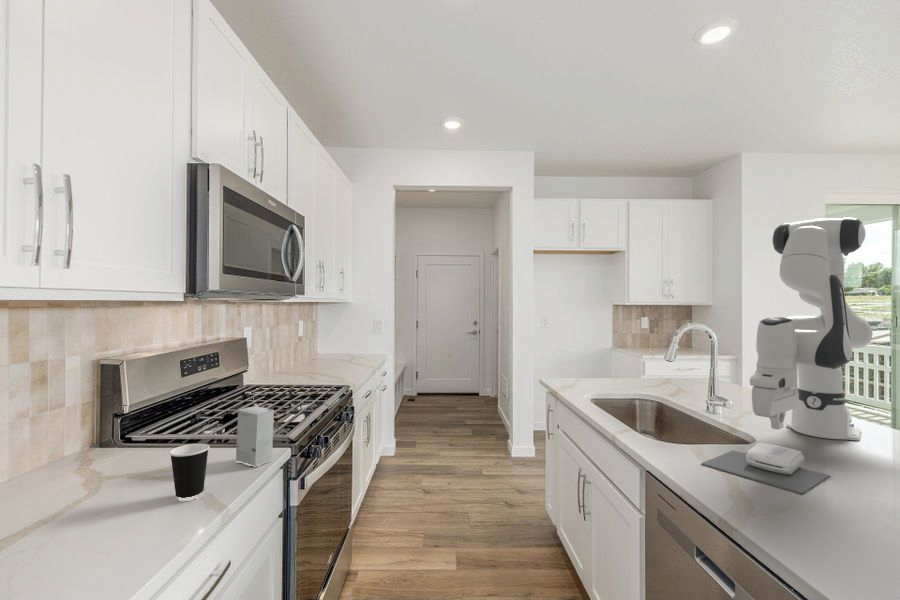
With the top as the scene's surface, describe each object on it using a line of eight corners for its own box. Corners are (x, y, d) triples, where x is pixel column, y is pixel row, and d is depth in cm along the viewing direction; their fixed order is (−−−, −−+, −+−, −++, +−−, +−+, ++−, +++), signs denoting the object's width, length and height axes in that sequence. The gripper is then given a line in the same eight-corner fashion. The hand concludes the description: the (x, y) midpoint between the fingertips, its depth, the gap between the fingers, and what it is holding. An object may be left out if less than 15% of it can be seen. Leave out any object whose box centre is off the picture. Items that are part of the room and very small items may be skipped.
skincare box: (235, 463, 118) (235, 409, 118) (254, 456, 124) (254, 405, 124) (256, 468, 114) (256, 413, 114) (274, 461, 120) (274, 408, 120)
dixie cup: (160, 502, 95) (160, 452, 95) (193, 487, 103) (193, 441, 103) (186, 507, 92) (186, 456, 93) (217, 492, 100) (217, 445, 100)
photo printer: (757, 455, 120) (742, 466, 112) (757, 440, 120) (742, 450, 112) (804, 466, 112) (791, 479, 104) (804, 450, 112) (791, 462, 104)
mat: (733, 451, 125) (733, 450, 125) (830, 476, 107) (830, 475, 107) (701, 464, 115) (701, 463, 115) (802, 494, 97) (802, 493, 97)
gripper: (778, 372, 125) (779, 419, 125) (746, 379, 114) (747, 431, 113) (805, 375, 119) (806, 424, 119) (774, 383, 108) (775, 438, 108)
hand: (777, 428), depth 116 cm, fingers closed
